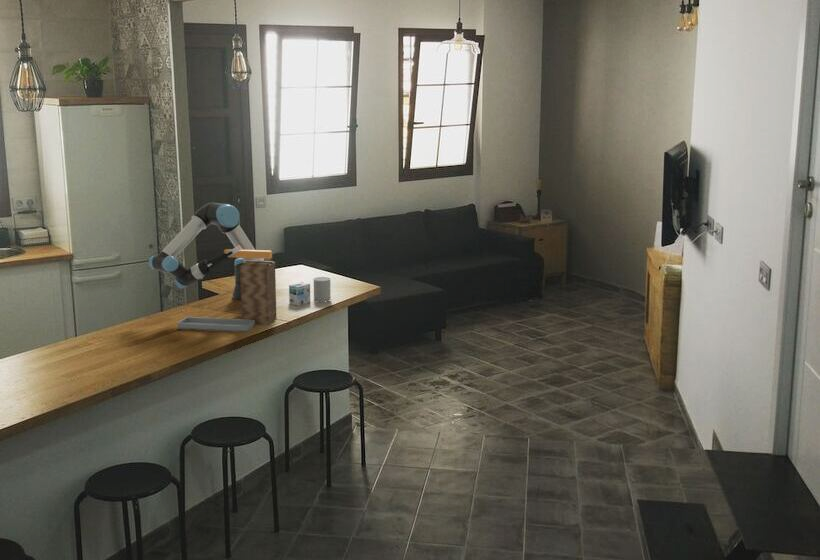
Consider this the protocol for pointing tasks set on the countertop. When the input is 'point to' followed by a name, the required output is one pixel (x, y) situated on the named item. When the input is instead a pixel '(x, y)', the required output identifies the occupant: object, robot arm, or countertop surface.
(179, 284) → the robot arm
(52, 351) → the countertop surface
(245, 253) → the pin
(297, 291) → the light bulb box
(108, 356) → the countertop surface
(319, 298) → the grey cylinder
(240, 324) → the tray
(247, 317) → the brown zigzag tall box
